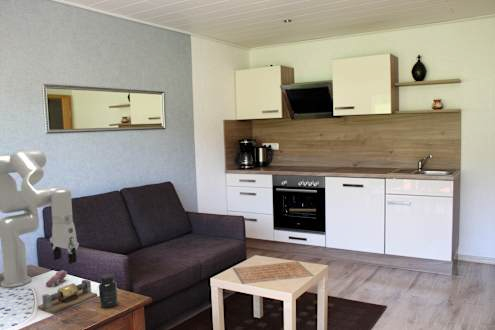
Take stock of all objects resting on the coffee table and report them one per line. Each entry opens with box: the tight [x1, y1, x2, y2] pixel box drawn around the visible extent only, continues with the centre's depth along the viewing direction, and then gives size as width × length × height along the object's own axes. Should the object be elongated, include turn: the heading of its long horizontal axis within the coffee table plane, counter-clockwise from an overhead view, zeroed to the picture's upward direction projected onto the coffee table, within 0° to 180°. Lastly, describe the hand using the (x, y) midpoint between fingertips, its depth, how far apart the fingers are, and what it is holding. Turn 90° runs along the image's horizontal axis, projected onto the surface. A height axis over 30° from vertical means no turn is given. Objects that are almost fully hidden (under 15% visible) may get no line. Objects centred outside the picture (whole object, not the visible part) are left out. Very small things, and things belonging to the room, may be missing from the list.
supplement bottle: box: [98, 273, 119, 309], centre depth 175 cm, size 7×7×12 cm
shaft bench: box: [37, 279, 98, 316], centre depth 179 cm, size 11×20×6 cm, turn 148°
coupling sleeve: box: [56, 283, 78, 300], centre depth 179 cm, size 6×5×5 cm
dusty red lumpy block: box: [45, 269, 68, 288], centre depth 202 cm, size 10×5×7 cm, turn 170°
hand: (65, 260), depth 178 cm, fingers open, 9 cm apart
